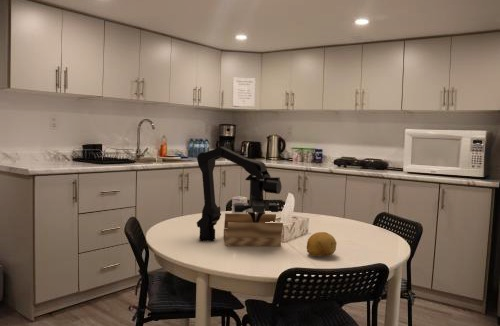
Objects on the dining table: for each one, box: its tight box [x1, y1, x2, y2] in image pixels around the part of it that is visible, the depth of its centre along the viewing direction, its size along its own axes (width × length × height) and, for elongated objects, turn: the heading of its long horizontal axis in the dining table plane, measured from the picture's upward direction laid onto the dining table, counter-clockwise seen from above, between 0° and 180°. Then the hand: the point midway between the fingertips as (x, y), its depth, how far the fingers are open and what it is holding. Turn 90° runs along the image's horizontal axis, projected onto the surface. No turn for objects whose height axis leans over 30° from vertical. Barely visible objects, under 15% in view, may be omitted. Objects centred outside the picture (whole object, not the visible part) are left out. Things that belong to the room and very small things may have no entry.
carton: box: [223, 228, 282, 247], centre depth 194 cm, size 24×15×4 cm, turn 98°
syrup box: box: [231, 195, 248, 214], centre depth 226 cm, size 6×6×14 cm
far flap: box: [223, 212, 277, 229], centre depth 200 cm, size 8×24×1 cm
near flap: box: [226, 222, 284, 239], centre depth 185 cm, size 8×24×1 cm
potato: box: [306, 231, 337, 257], centre depth 176 cm, size 10×12×10 cm
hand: (255, 227), depth 184 cm, fingers closed, pressing on near flap
